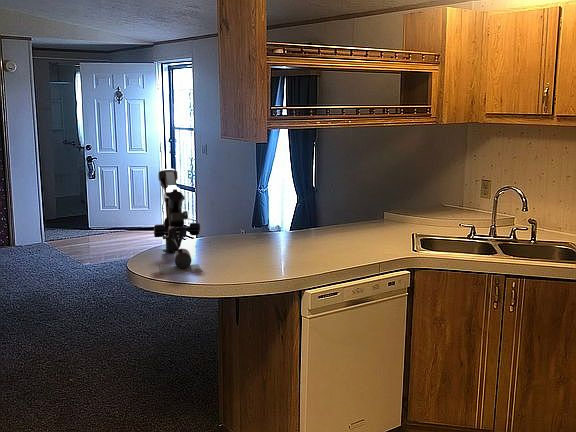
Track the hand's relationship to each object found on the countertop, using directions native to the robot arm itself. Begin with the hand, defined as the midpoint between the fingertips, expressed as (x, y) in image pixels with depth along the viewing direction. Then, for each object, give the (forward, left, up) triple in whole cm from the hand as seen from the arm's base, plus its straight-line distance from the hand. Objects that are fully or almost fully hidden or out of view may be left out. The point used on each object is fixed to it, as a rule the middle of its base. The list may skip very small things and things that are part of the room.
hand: (178, 246), depth 257 cm
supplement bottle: (-4, +4, -5) cm, 7 cm away
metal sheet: (+3, -1, -9) cm, 9 cm away
